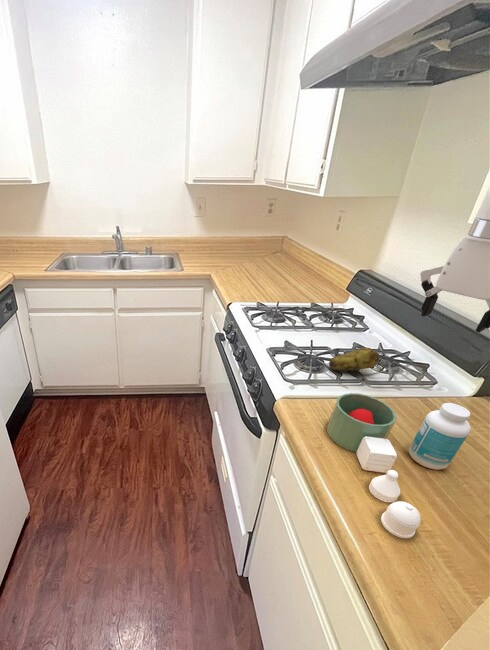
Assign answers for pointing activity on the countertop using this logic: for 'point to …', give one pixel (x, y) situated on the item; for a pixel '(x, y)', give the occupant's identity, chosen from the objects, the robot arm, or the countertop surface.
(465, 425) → the pill bottle
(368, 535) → the countertop surface
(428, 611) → the countertop surface
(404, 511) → the container set
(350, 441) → the cup
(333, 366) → the potato
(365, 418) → the cap
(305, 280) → the countertop surface
